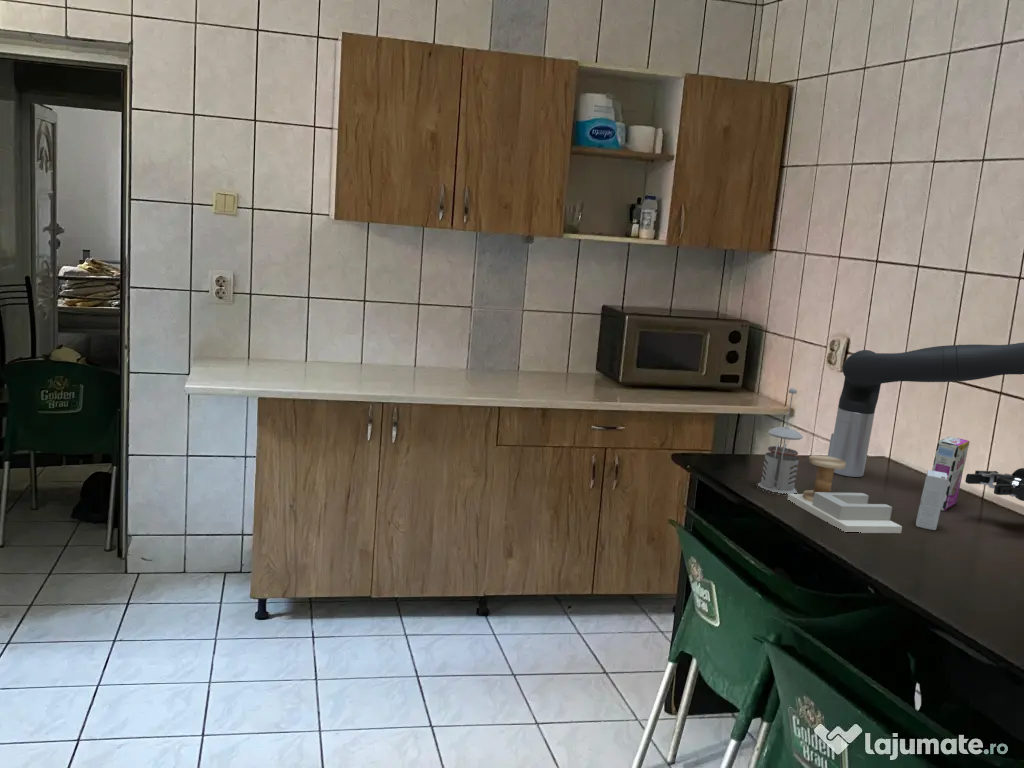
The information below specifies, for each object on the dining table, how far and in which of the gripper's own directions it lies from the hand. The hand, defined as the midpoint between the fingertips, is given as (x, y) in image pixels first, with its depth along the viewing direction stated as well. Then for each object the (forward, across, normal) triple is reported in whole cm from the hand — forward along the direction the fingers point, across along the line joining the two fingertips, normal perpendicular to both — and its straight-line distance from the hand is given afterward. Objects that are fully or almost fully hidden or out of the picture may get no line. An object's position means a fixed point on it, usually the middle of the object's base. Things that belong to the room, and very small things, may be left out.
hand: (981, 484), depth 208 cm
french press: (+36, -25, +10) cm, 45 cm away
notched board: (+30, -6, +10) cm, 33 cm away
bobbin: (+32, -13, +8) cm, 35 cm away
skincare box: (+12, 0, +10) cm, 16 cm away
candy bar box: (-4, -15, +10) cm, 19 cm away
